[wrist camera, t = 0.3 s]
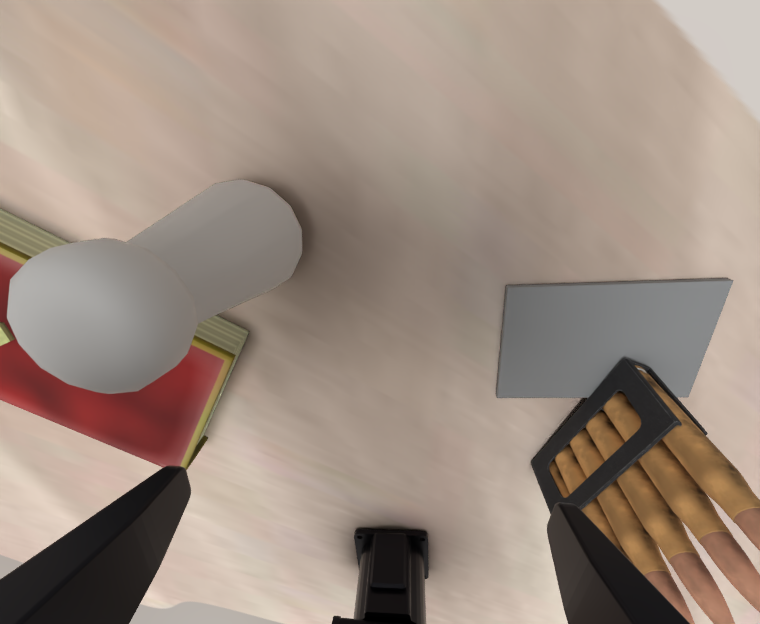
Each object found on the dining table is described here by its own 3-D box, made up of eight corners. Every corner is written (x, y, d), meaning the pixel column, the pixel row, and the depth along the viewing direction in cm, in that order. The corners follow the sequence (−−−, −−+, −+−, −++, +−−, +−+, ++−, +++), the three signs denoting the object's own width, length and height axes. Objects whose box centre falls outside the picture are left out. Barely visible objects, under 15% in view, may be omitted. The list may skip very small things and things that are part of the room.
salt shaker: (289, 292, 22) (154, 460, 10) (202, 247, 21) (-52, 374, 9) (329, 209, 20) (213, 305, 8) (233, 154, 19) (-56, 171, 7)
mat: (683, 393, 23) (688, 397, 23) (495, 394, 24) (497, 397, 24) (727, 278, 20) (733, 280, 19) (506, 285, 21) (507, 287, 20)
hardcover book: (209, 437, 29) (178, 482, 25) (-64, 318, 26) (-146, 348, 22) (259, 326, 24) (230, 361, 20) (-71, 162, 21) (-179, 166, 17)
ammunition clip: (551, 470, 27) (643, 695, 16) (529, 463, 27) (608, 686, 16) (650, 366, 22) (876, 597, 11) (624, 357, 22) (830, 582, 11)
